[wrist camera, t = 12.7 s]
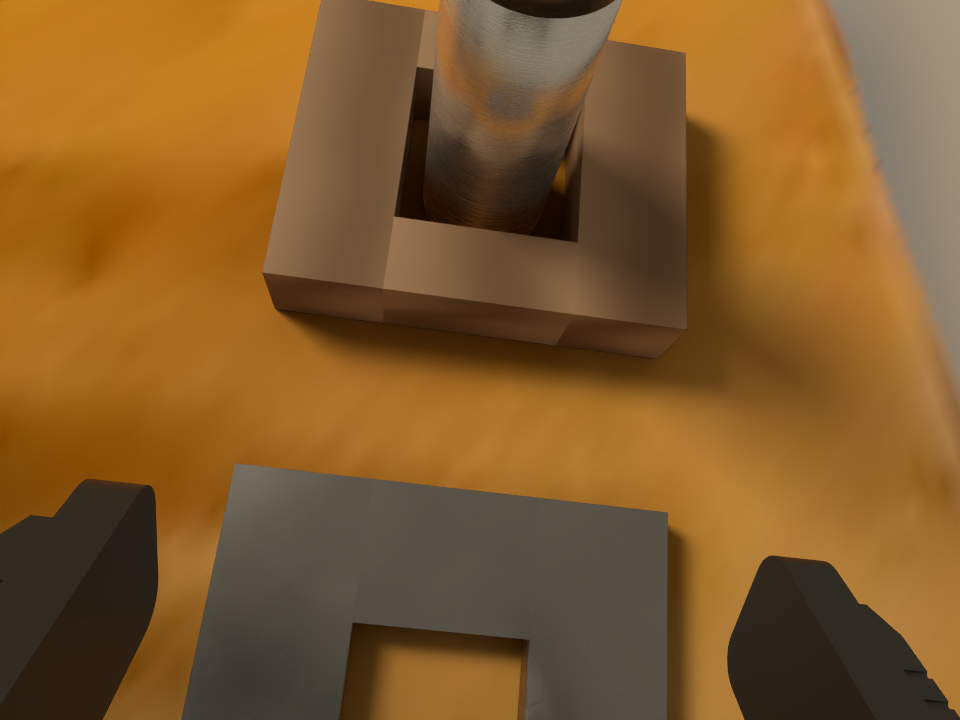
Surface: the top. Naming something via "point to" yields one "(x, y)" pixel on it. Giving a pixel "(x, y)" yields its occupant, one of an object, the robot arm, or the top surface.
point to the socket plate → (428, 593)
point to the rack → (471, 251)
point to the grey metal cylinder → (507, 105)
